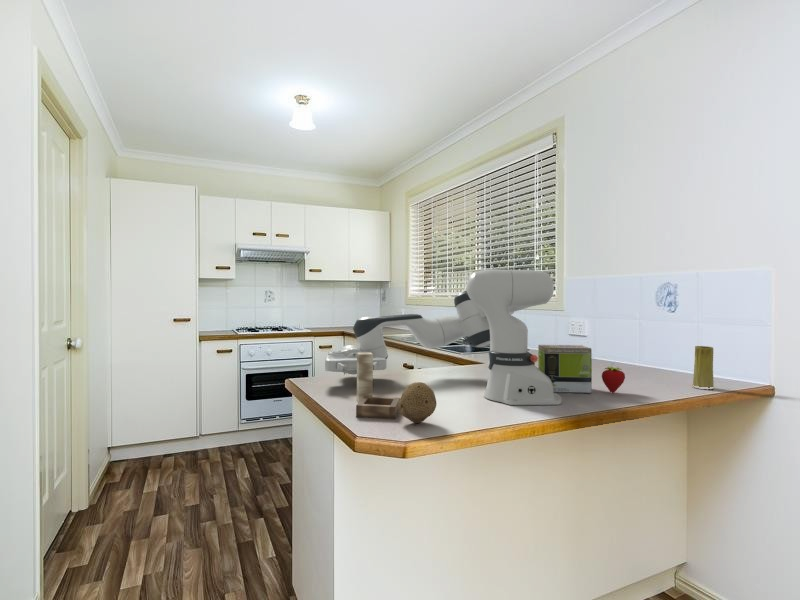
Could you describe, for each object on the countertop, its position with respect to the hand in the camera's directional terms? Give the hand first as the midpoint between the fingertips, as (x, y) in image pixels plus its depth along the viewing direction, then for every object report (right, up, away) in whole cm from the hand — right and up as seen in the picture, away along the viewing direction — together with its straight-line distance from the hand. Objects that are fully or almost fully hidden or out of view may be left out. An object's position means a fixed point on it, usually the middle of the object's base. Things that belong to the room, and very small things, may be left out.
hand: (358, 367), depth 142 cm
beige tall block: (+3, -8, -12) cm, 14 cm away
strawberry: (+82, -9, +4) cm, 83 cm away
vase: (+117, -9, +13) cm, 118 cm away
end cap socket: (+7, -8, -23) cm, 26 cm away
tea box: (+67, -9, +8) cm, 68 cm away
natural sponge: (+17, -9, -33) cm, 38 cm away
